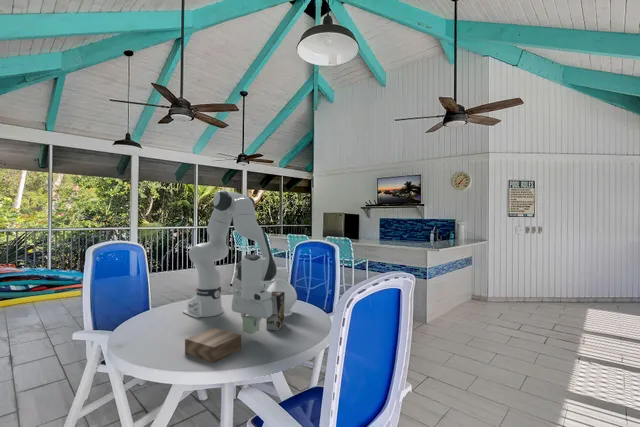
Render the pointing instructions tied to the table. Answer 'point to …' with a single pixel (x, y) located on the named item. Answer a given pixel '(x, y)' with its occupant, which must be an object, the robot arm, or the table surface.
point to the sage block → (250, 324)
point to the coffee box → (276, 312)
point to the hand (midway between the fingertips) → (251, 324)
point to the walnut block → (213, 344)
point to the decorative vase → (284, 289)
